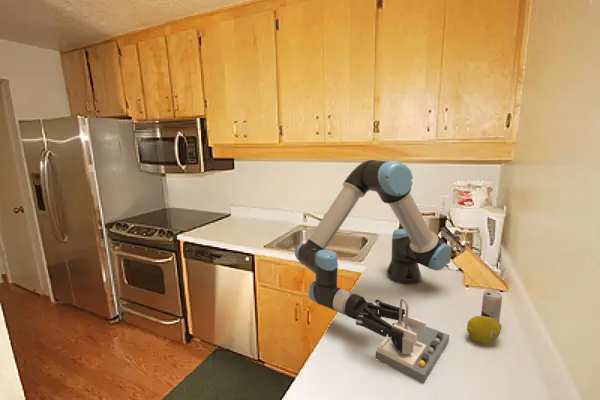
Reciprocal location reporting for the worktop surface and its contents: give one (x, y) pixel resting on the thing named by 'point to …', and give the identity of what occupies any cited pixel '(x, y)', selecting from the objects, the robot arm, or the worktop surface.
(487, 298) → the energy drink
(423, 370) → the board
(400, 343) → the padlock
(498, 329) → the lemon
